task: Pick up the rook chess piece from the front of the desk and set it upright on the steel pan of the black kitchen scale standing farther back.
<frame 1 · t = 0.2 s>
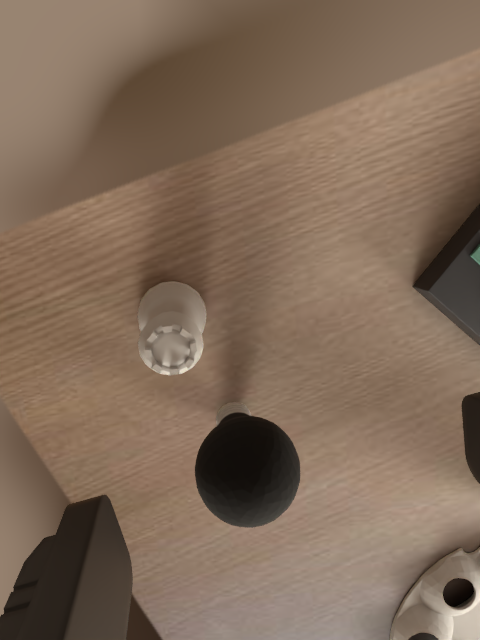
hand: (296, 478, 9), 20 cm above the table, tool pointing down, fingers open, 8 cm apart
rook chess piece: (172, 312, 28), on the table
light bulb: (231, 411, 31), on the table
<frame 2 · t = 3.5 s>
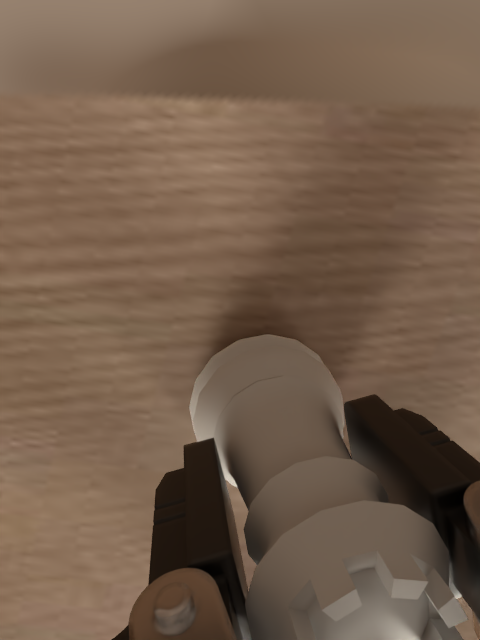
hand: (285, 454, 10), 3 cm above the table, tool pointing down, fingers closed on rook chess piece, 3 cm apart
rook chess piece: (259, 395, 13), on the table, touching gripper
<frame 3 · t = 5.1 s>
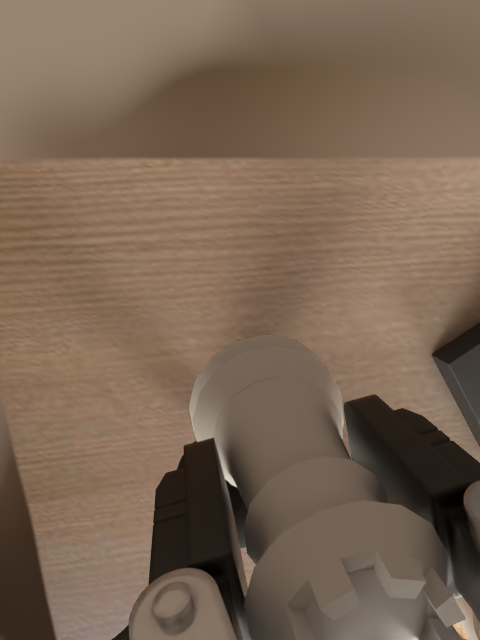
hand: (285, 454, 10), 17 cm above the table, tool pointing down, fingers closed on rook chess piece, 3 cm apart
rook chess piece: (259, 395, 13), point 14 cm above the table, touching gripper
cup: (474, 576, 36), on the table
light bulb: (217, 420, 29), on the table
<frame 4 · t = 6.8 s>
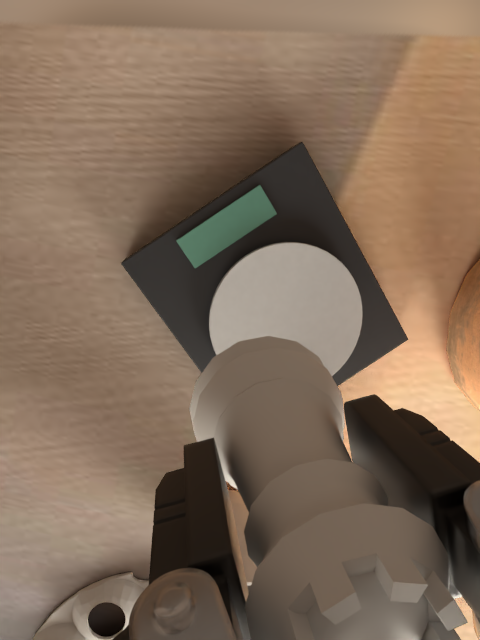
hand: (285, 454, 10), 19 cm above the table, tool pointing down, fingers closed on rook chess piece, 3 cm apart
rook chess piece: (259, 397, 13), point 16 cm above the table, touching gripper
scale: (268, 298, 29), on the table
cup: (226, 515, 33), on the table
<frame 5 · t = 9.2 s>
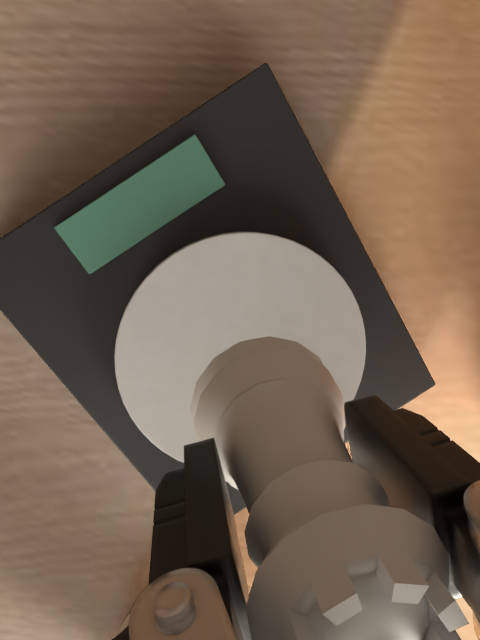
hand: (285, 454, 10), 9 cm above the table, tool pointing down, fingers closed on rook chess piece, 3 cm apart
rook chess piece: (260, 397, 13), point 6 cm above the table, touching gripper
scale: (221, 319, 19), on the table
when the fingers open (6 cm above the table, at t = 10.4 s): rook chess piece stays where it is, resting on scale.
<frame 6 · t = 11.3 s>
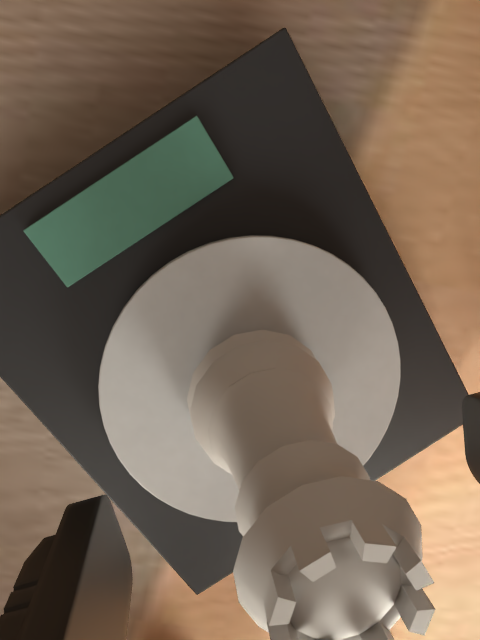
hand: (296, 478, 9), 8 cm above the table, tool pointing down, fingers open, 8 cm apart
rook chess piece: (254, 389, 14), point 3 cm above the table, touching scale
scale: (227, 338, 16), on the table
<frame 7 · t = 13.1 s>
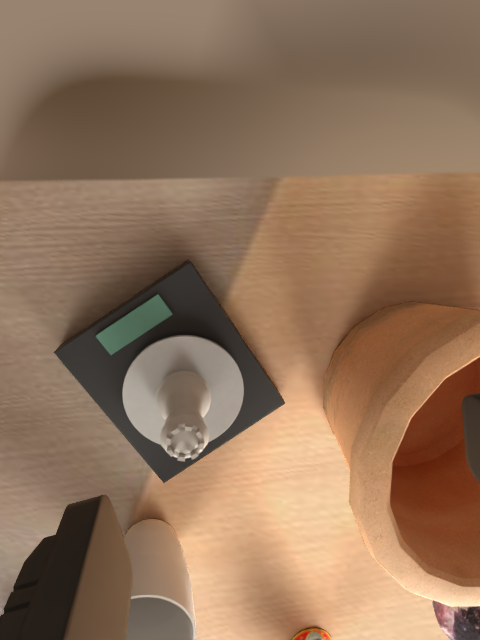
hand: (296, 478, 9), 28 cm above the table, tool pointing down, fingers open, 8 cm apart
mineral specimen: (456, 568, 48), on the table
rook chess piece: (183, 393, 35), point 3 cm above the table, touching scale
scale: (176, 371, 37), on the table
pottery: (403, 384, 41), on the table
cup: (150, 539, 41), on the table
magic lamp: (306, 633, 47), on the table
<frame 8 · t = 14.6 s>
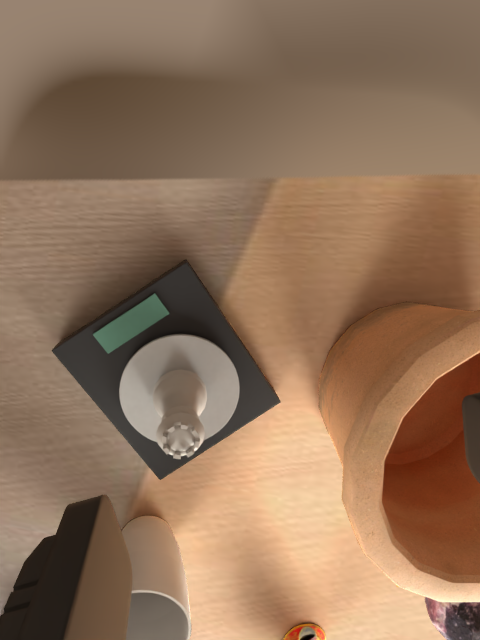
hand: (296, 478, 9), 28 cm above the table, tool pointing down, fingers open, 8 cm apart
mineral specimen: (449, 565, 48), on the table
rook chess piece: (179, 391, 35), point 3 cm above the table, touching scale
scale: (172, 369, 38), on the table
pottery: (397, 383, 42), on the table
cup: (146, 535, 42), on the table
magic lamp: (300, 628, 48), on the table
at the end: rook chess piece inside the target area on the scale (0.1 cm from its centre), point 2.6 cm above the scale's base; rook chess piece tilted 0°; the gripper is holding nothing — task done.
